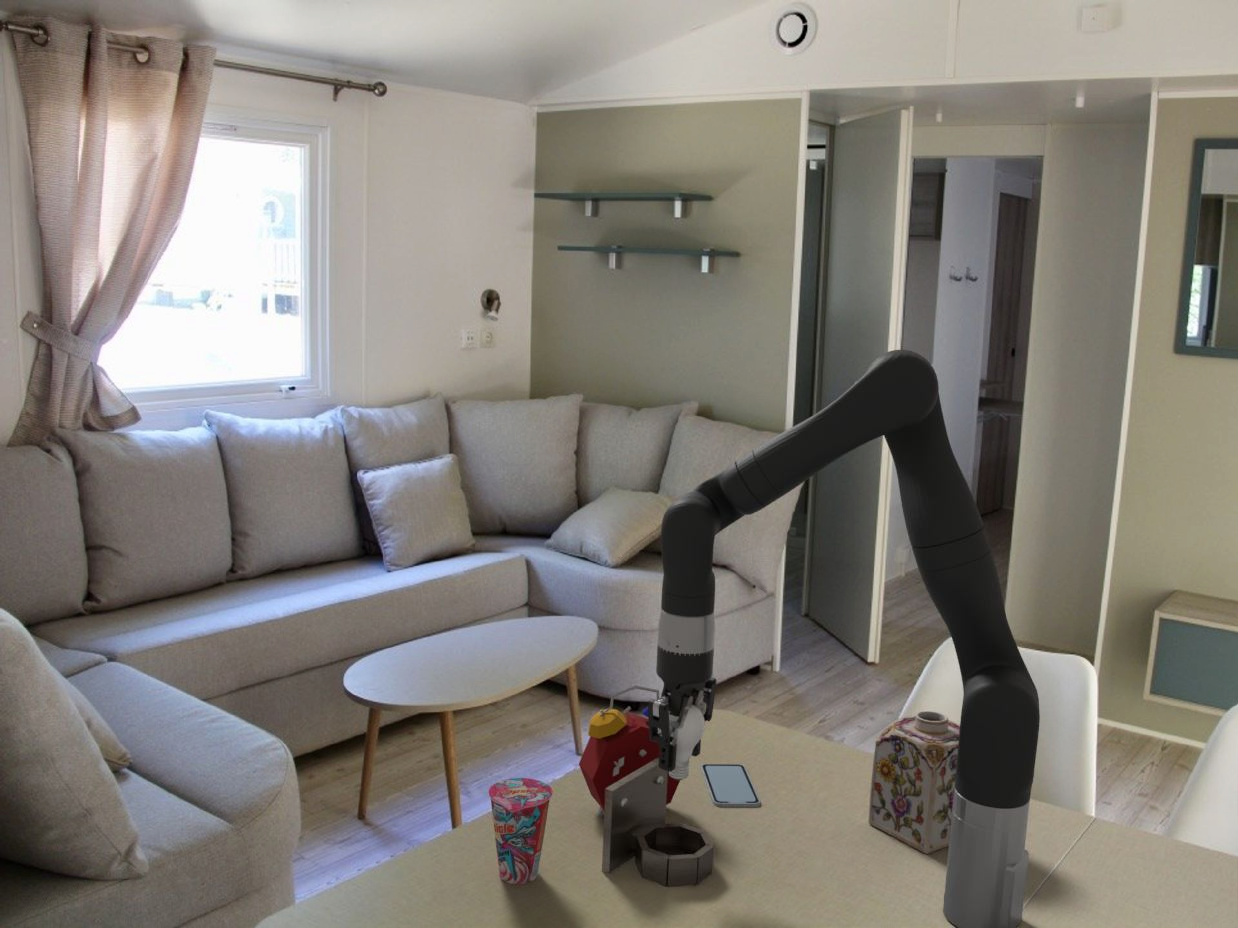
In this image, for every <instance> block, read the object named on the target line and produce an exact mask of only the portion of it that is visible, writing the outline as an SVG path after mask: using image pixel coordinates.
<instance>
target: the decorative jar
mask: <svg viewBox="0 0 1238 928" xmlns="http://www.w3.org/2000/svg"><path fill="white" fill-rule="evenodd" d="M959 732H960V723H957V722H955V721H952V720H950V719H949V717H948V716H946V715H945V714H943V713H942V712H937V711H931V710H930V711H929V710H927V711H925V710H924V711H919V712H916V714H914V715H909V716H905V717H900V718H897V719H895V720H893V721H892V722H890V724H889V725H888V726H887V728H885V729H884V730H883V732H882V733H881V734H879V736H878V737H876V740H875V741H874V742H875V745H874V753H873V761H872V770H871V771H872V772H871V777H870V778H871V779H870V791H869V792H870V795H869V807H868V824H869V825H871V826H873V827H875V828H877V829H879V830H881V831H883V832H884V833H886V834H888V835H890V836H891V837H894V838H895V839H897V840H899V841H901V842H903V843H905V844H907V845H908V846H910V847H912V848H914V849H915V850H918V851H919V852H921V853H923V854H926V855H928V854H931V853H933V852H936V851H939V850H942V849H944V848H947V847H949V841H950V830H951V819H952V809H953V799H954V788H955V778H956V763H957V755H958V743H959Z"/></svg>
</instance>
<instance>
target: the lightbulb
mask: <svg viewBox="0 0 1238 928" xmlns="http://www.w3.org/2000/svg"><path fill="white" fill-rule="evenodd" d="M678 718H679V717H676V716H673V715H669V720H672V721H677V720H678ZM705 726H706V721H704V717H703V714H702V713H701V711H700V710H699V709H698V707H696V706H695V705H692V706H691V708H690V709H689V710H688V714H687V717H686V719H685V722H684V725H683V727H682V728H681V729H678V738H677V742H676V745H677V747H676V766H675V769H674V770H673V771H671V772H669V776H670V777H672V778H674V779H675V780H680V781H682V780H685V779H687V778H688V777H689V774H690V773H689V772H690V771H689V769H690V759H691V758H692V757H693V756H692V752H693V749H694V747H695V746H696V744H697V743H698V742H699V740H700V739H701V740H702V737H703V735H704V733H705ZM658 730H659V728H658ZM669 731H670V736H671V732H672V726H669Z"/></svg>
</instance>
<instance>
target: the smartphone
mask: <svg viewBox="0 0 1238 928" xmlns="http://www.w3.org/2000/svg"><path fill="white" fill-rule="evenodd" d="M700 770H701V772H702V776H703V777H704V781H705V784H706V786H707V787H706V788H707V790H708V793H709V796H710V799H711V801H712V804H713V805H714V806H716V807H719V808H724V807H725V808H756V807H759V806H760V805H761V800H760V797H759V795H758V793H757V791H756V787H754V784H753V782H752V779H751V777H750V775H749V773H748V771H747V769H746V766H745V765H744V764H742V763H741V764H740V763H703V764H701V765H700Z"/></svg>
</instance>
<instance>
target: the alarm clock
mask: <svg viewBox="0 0 1238 928" xmlns="http://www.w3.org/2000/svg"><path fill="white" fill-rule="evenodd" d="M635 689H637V690H642V691H646V692H651V693H656V701H657V700H659V699H660V690H659V689H656V688H655V689H654V688H649V687H645V686H639V685H634V686H631V687H629V688H626V689H623V690H620V691H618V692H616V693H614V694H611V695H610V704H609V707H608V708H606V709H603V708H602V709H600V710H599V711H598V712H596V713H595V714H594V715H593V716H592V717H590V719H589V723H588V731H587V732H588V733H587V734H588V737H589V739H588V741H587V744H586V746H585V749H584V750H583V753H582V755H581V756H580V757H581V758H580V760H579V762H578V766H579V768H580V771H581V773H582V777H583V778H584V780H585V783H586V785H587V788H588V790H589V793H590V796H591V797H592V798H593V799H594V800H595V802H596V803H597V804H598V805H599V809H598V812H597V814H596V816H597V818H598V817H599V818H601V817H603V816H604V807H605V788H607V787H609V786H610V785H612V784H614V783H615V782H617V781H619V780H621V779H622V778H624V777H626V776H627V775H629V774H631V773H633V772H634V771H636V770H638V769H639V768H641V767H643V766H644V765H646V764H648V763H650V762H651V761H653V760H655V759H656V758H658V757H659V743H656V742H653V741H650V739H649V719H648V705H647V706H646V707H645V708H643V709H641V712H642V715H643V716H642V715H639V714H636V713H632V712H630V711H631V710H632V708H631V706H627V707H626V708H625V709H624V710H623V711H622V712H621V711H619V710H618V709H615V708H613V706H614V698H615V697H617V696H620V695H623V694H625V693H628V692H630V691H633V690H635ZM657 733H658V728H657ZM680 782H681V780H675V779H674V778H672V777H670V776H669V771H668V778H667V797H666V806H667V805H670V804H671V803H672V800H673V798H674V796H675V794H676V791H677V789H678V786H679V784H680Z"/></svg>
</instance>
